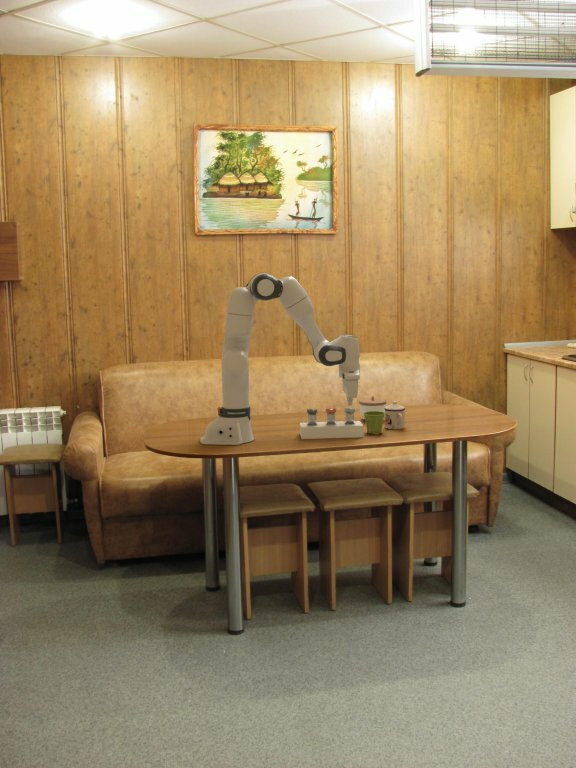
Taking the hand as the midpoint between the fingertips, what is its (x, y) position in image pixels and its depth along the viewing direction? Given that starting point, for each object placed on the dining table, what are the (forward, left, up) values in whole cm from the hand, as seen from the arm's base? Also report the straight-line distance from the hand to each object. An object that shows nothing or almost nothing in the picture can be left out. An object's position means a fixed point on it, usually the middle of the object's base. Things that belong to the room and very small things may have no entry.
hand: (349, 405), depth 341 cm
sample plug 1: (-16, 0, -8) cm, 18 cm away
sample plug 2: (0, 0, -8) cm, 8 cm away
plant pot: (+11, +3, -13) cm, 17 cm away
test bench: (-8, 0, -13) cm, 15 cm away
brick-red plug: (-8, 0, -8) cm, 11 cm away
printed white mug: (+22, +11, -13) cm, 28 cm away
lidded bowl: (+15, +31, -13) cm, 37 cm away
